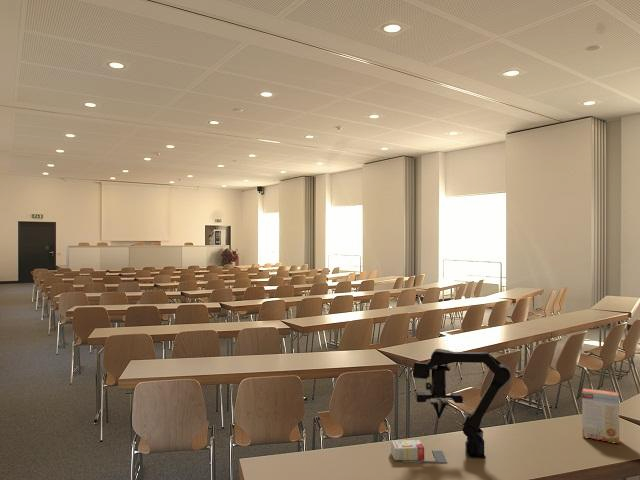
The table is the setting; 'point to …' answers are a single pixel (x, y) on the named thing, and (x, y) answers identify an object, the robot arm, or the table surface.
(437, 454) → the flat gray angled bracket
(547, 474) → the table surface
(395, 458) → the ink box
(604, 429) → the cracker box
